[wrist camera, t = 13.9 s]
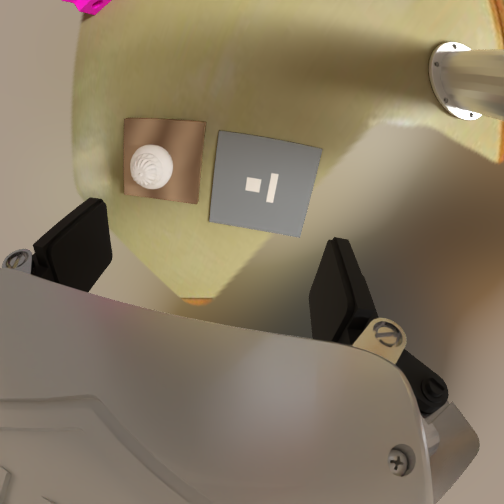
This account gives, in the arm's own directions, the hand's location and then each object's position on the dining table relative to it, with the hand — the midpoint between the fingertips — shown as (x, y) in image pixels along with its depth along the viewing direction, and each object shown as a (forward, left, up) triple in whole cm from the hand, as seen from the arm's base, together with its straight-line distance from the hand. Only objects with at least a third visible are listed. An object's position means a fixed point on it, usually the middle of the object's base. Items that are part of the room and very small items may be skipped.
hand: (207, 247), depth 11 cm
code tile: (-2, +7, -28) cm, 29 cm away
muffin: (+13, +5, -27) cm, 31 cm away
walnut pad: (+13, +5, -28) cm, 32 cm away
